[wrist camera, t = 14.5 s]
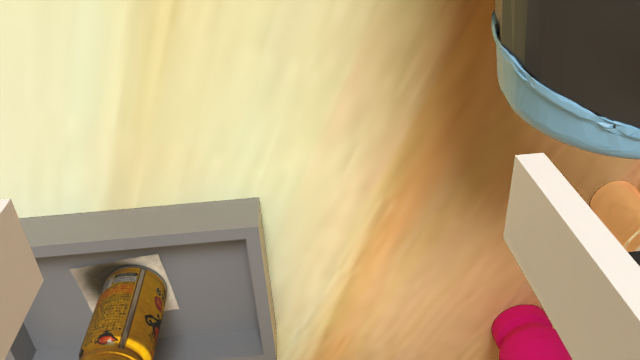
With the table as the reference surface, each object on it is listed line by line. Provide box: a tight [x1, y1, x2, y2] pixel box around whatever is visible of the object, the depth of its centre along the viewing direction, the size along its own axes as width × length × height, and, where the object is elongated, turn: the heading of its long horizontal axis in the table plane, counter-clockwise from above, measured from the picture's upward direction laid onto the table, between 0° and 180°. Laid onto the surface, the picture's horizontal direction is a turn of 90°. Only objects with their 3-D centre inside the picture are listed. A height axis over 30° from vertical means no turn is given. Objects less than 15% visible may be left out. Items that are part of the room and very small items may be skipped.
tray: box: [5, 198, 277, 360], centre depth 55 cm, size 26×17×4 cm, turn 93°
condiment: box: [69, 254, 179, 360], centre depth 51 cm, size 7×8×12 cm
